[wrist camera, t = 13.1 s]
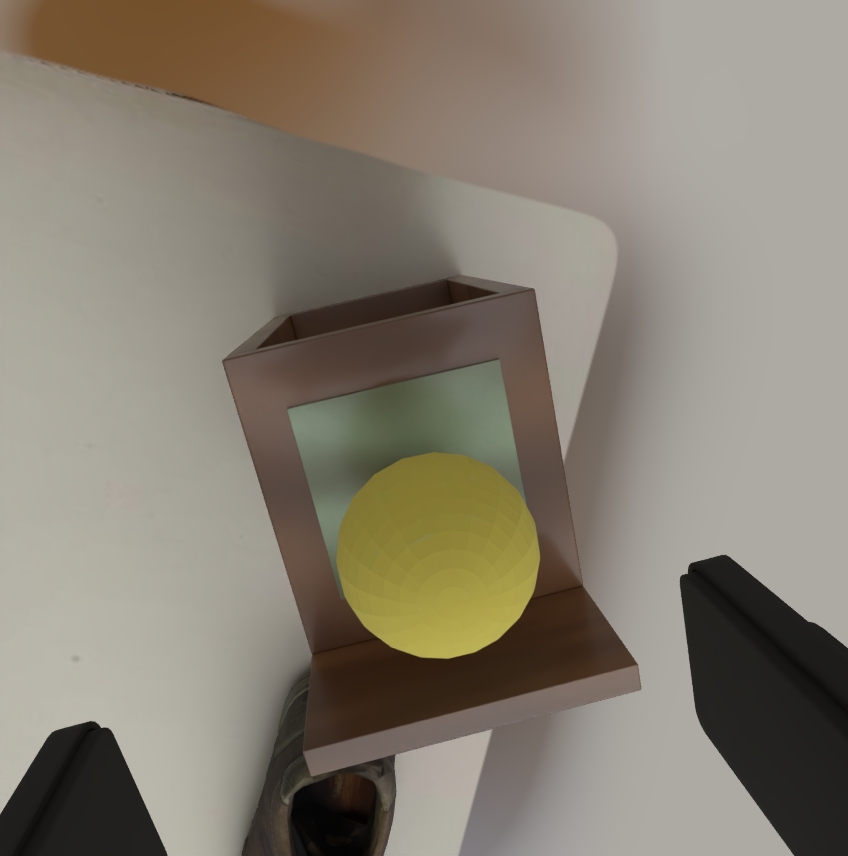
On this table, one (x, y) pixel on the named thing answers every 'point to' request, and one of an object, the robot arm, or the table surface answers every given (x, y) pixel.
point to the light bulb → (438, 555)
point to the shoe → (320, 799)
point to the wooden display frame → (385, 445)
